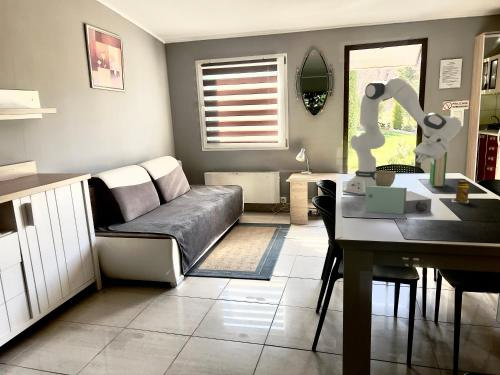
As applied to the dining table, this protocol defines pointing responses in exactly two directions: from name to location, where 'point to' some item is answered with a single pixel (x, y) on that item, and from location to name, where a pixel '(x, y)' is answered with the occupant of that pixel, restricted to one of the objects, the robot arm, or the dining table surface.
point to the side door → (385, 199)
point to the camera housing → (417, 203)
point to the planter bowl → (385, 178)
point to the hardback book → (438, 171)
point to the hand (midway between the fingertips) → (418, 161)
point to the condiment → (462, 192)
